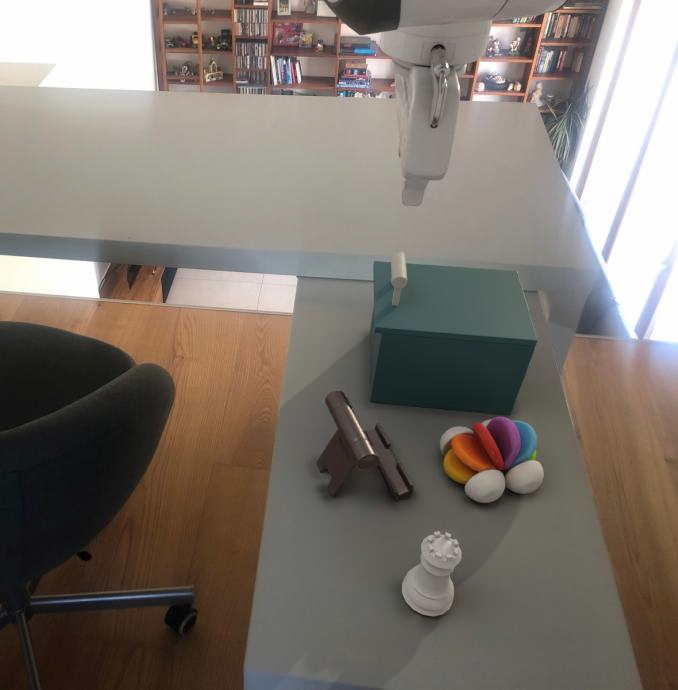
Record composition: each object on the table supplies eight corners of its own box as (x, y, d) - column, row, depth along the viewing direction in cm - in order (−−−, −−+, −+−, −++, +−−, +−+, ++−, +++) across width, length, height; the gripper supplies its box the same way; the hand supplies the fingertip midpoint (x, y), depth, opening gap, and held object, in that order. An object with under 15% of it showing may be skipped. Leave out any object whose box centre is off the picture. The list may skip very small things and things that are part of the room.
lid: (374, 332, 74) (380, 296, 70) (373, 266, 83) (378, 231, 80) (535, 346, 71) (549, 309, 68) (515, 276, 81) (527, 241, 78)
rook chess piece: (396, 573, 64) (410, 521, 58) (444, 572, 64) (463, 520, 58) (406, 619, 60) (422, 569, 55) (458, 618, 60) (478, 568, 55)
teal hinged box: (370, 402, 80) (381, 333, 73) (369, 333, 90) (379, 267, 83) (510, 415, 78) (535, 346, 71) (494, 343, 88) (515, 276, 81)
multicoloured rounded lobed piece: (423, 450, 74) (436, 403, 70) (505, 433, 76) (522, 386, 71) (463, 514, 68) (479, 467, 63) (550, 494, 70) (573, 446, 65)
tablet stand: (412, 499, 70) (427, 444, 64) (338, 515, 68) (347, 460, 63) (377, 436, 76) (388, 381, 71) (309, 449, 75) (315, 394, 70)
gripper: (490, 74, 50) (451, 237, 59) (461, -4, 65) (434, 135, 74) (401, 71, 51) (376, 232, 60) (393, -6, 66) (374, 132, 75)
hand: (408, 178), depth 67 cm, fingers open, 8 cm apart
